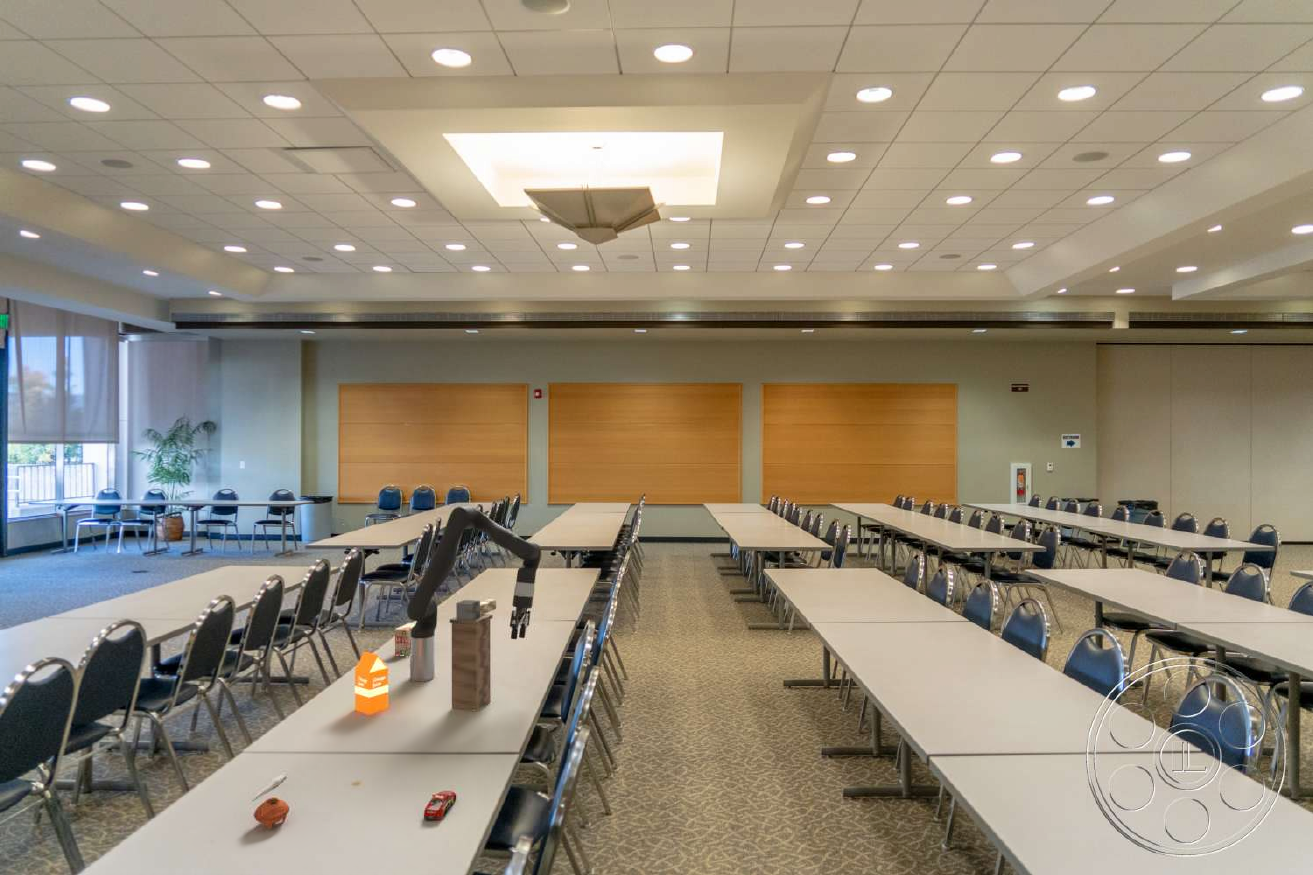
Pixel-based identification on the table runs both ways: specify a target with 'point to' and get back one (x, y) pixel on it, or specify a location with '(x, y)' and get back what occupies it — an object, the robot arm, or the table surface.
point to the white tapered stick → (272, 784)
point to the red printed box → (403, 639)
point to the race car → (439, 805)
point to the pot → (271, 812)
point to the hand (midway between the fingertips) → (517, 638)
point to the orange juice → (371, 684)
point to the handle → (473, 609)
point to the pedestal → (471, 663)
